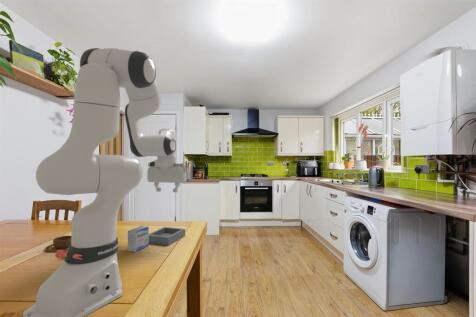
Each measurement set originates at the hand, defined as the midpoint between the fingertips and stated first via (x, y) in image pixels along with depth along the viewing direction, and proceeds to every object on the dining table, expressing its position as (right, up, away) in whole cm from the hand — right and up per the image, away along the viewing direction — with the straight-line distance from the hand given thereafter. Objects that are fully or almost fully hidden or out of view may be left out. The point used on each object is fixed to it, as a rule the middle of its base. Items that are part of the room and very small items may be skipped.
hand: (166, 191), depth 114 cm
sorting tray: (0, -23, 0) cm, 23 cm away
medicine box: (-9, -23, -12) cm, 27 cm away
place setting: (-40, -24, -15) cm, 49 cm away
